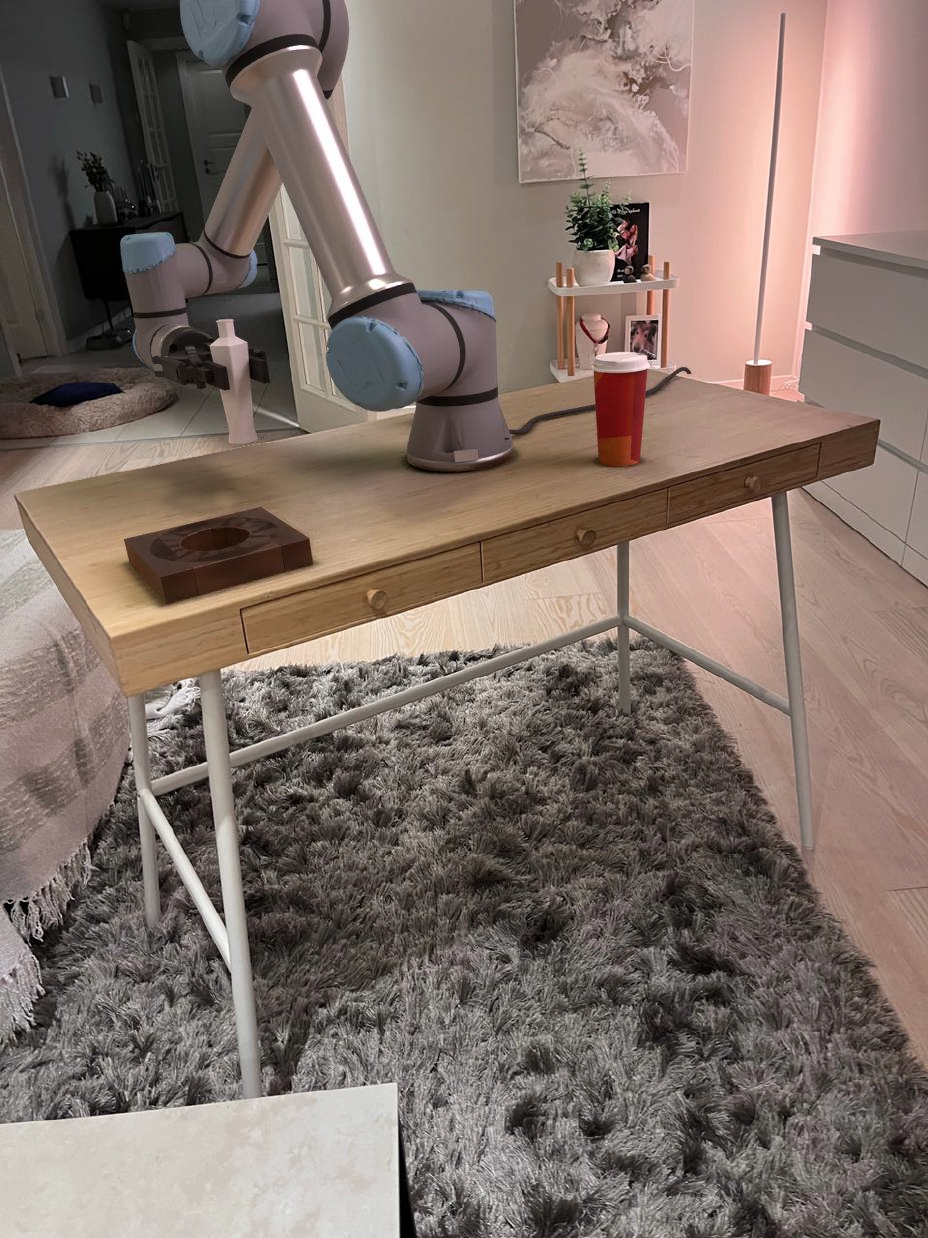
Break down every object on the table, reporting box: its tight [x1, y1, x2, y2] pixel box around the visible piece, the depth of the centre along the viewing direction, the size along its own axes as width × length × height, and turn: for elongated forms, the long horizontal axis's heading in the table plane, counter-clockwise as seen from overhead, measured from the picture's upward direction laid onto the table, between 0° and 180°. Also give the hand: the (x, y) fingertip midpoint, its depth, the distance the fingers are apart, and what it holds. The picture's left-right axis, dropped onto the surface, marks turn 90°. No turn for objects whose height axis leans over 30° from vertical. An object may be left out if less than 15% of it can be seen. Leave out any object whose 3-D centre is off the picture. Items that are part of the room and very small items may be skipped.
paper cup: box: [590, 351, 651, 467], centre depth 126 cm, size 8×8×14 cm
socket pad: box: [123, 506, 314, 605], centre depth 102 cm, size 16×14×3 cm
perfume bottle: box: [210, 318, 259, 445], centre depth 119 cm, size 5×4×15 cm
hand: (245, 375), depth 114 cm, fingers closed on perfume bottle, 4 cm apart
